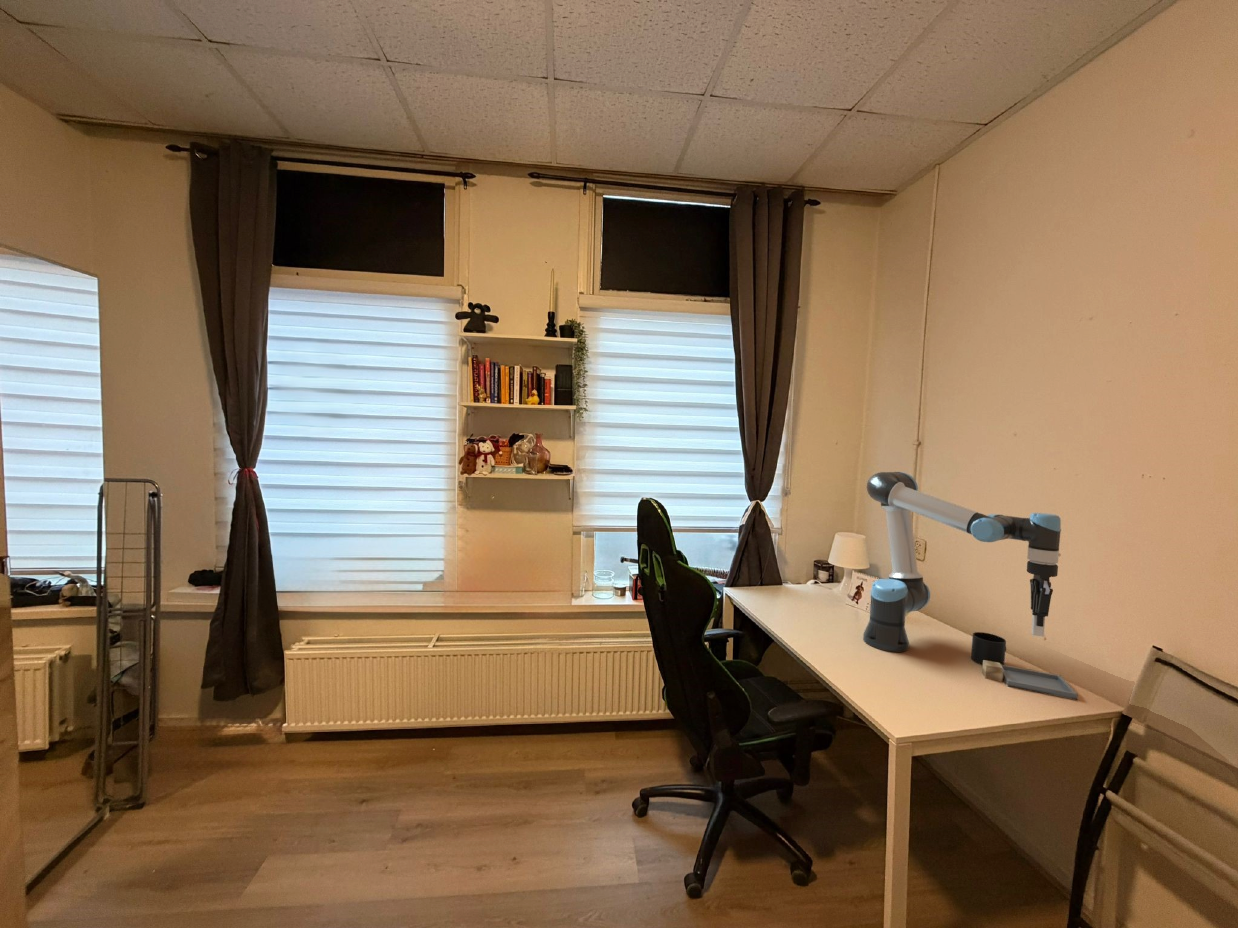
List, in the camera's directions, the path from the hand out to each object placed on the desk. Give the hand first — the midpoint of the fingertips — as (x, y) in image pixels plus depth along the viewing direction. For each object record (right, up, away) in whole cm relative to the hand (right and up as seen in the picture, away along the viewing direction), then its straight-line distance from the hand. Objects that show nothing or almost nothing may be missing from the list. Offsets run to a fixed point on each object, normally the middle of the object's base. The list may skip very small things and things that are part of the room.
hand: (1037, 634), depth 160 cm
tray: (0, -16, +1) cm, 16 cm away
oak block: (-11, -15, +4) cm, 20 cm away
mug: (-3, -15, +16) cm, 22 cm away
